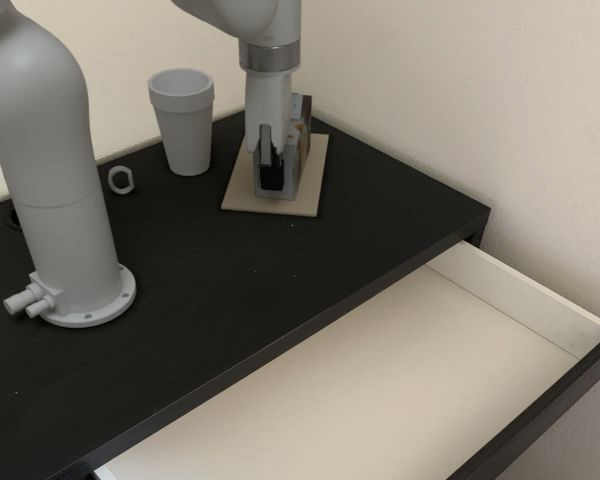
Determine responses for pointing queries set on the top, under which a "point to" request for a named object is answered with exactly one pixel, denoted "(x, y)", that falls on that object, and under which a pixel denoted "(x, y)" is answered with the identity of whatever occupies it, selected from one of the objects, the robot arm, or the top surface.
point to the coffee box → (290, 150)
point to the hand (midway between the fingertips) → (272, 187)
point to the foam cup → (184, 117)
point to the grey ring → (130, 178)
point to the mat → (245, 200)
